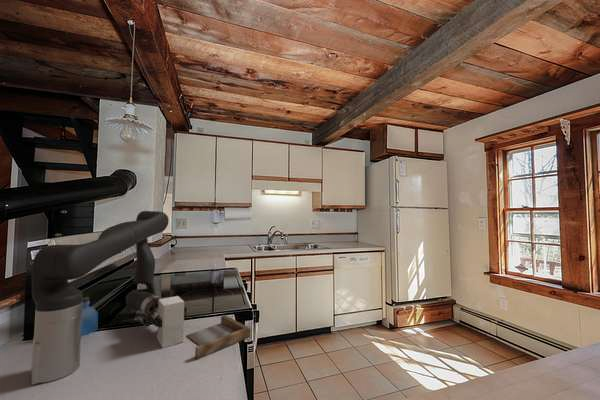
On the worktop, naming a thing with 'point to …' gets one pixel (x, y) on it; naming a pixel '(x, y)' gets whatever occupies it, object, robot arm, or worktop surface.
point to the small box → (171, 321)
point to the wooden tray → (219, 336)
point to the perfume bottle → (88, 318)
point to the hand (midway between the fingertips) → (173, 320)
